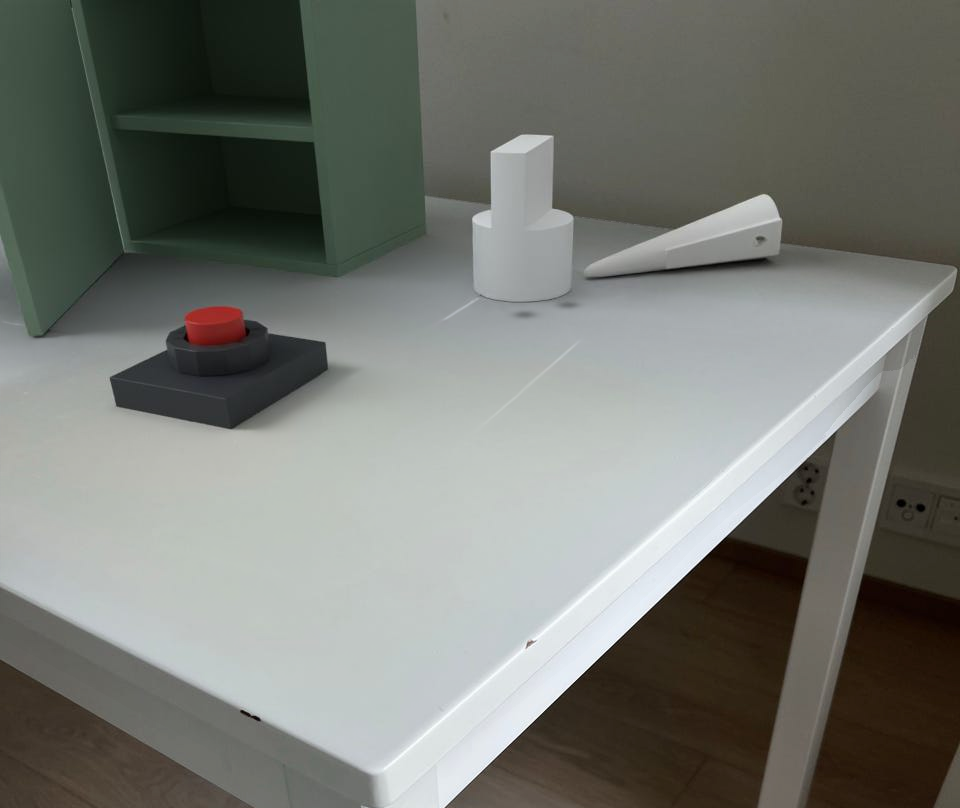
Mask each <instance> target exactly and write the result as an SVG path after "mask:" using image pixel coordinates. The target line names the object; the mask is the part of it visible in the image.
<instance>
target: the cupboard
mask: <svg viewBox="0 0 960 808" xmlns="http://www.w3.org/2000/svg"><path fill="white" fill-rule="evenodd" d="M70 3H71V8H72V12H73V17H74V22H75V26H76V31H77V35H78V40H79V45H80V49H81V54H82V59H83V63H84V68H85V72H86V77H87V82H88V86H89V91H90V96H91V100H92V105H93V109H94V114H95V119H96V123H97V128H98V133H99V137H100V142H101V146H102V151H103V156H104V160H105V165H106V170H107V174H108V179H109V184H110V188H111V193H112V197H113V202H114V207H115V211H116V216H117V221H118V225H119V230H120V234H121V239H122V244H123V248H124V252H132V253H139V254H146V255H147V254H148V255H155V256H164V257H173V258H179V259H187V260H195V261H204V262H211V263H220V264H228V265H236V266H243V267H252V268H259V269H268V270H275V271H284V272H290V273H291V272H292V273H300V274H307V275H315V276H324V277H331V278H332V277H333V278H340V277H342V276H345V275H346V274H348V273H350V272H352V271H354V270H357V269H358V268H360V267H362V266H364V265H366V264H369V263H370V262H372V261H375V260H377V259H378V258H381V257H382V256H385V255H387V254H388V253H391V252H393V251H395V250H397V249H399V248H401V247H403V246H405V245H407V244H409V243H411V242H413V241H416V240H418V239H419V238H420V237H423V236H425V235H427V217H426V215H427V214H426V196H425V194H426V193H425V192H426V191H425V174H424V173H425V172H424V170H425V169H424V150H423V130H422V129H423V128H422V108H421V85H420V67H419V66H420V65H419V64H420V63H419V62H420V61H419V44H418V41H419V40H418V22H417V21H418V19H417V0H70Z"/></svg>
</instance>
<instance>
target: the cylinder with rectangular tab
mask: <svg viewBox="0 0 960 808" xmlns="http://www.w3.org/2000/svg"><path fill="white" fill-rule="evenodd" d="M554 138H555V135H550V134H549V135H548V134H520V135H518V136H516V137H514V138H513V139H511V140H509V141H507V142H505V143H504V144H502V145H500V146H498V147H496V148H494V149H493V150H491V151H490V209H488V210H484V211H480V212H478V213H476V214H474V215H473V217H472V218H471V224H472V225H471V227H472V228H471V229H472V271H473V273H472V274H473V289H474V291H475V292H476V293H477V294H479V295H480V296H482V297H484V298H487V299H491V300H495V301H502V302H514V303H527V302H528V303H529V302H539V301H540V302H541V301H548V300H552V299H557V298H559V297H562V296H564V295H566V294H567V293H569V292H570V291H571V289H572V277H573V275H572V274H573V249H574V248H573V247H574V246H573V245H574V219H575V218H574V216H573V214H571V213H569V212H567V211H564V210H561V209H556V208H553V187H554V186H553V185H554V147H555V145H554V144H555V143H554V142H555V139H554Z"/></svg>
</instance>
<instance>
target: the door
mask: <svg viewBox="0 0 960 808" xmlns="http://www.w3.org/2000/svg"><path fill="white" fill-rule="evenodd" d="M0 240H1V243H2V247H3V251H4V254H5V258H6V261H7V264H8V268H9V272H10V275H11V278H12V282H13V286H14V291H15V293H16V297H17V300H18V303H19V308H20V311H21V315H22V317H23V321H24V325H25V328H26V332H27V335H28V336H29V337H34V336H40V337H41V336H43V335H44V334H45V333H47V332H48V330H49V329H51V327H52V326H53V325H54V324H55V323H56V322H57V321H58V320H59V319H60V318H61V317H62V316H63V315H64V314H65V313H66V312H67V311H68V310H69V309H70V308H71V307H72V306H73V305H74V304H75V303H76V302H77V301H78V300H79V299H80V298H81V297H82V296H83V294H85V293H86V292H87V291H88V289H89V288H90V287H91V286H93V284H95V282H96V281H98V279H99V278H100V277H101V276H102V275H103V274H105V273H106V271H107V270H108V269H109V268H110V267H112V265H113V264H114V263H115V262H116V261H117V260H118V259H119V258H120V257H121V256H122V255H123V254H124V253H125V249H124V245H123V239H122V235H121V231H120V226H119V221H118V217H117V212H116V207H115V203H114V198H113V193H112V189H111V184H110V180H109V175H108V170H107V166H106V161H105V156H104V152H103V147H102V142H101V138H100V133H99V129H98V124H97V119H96V115H95V110H94V105H93V101H92V96H91V91H90V87H89V82H88V78H87V73H86V68H85V64H84V59H83V54H82V50H81V45H80V40H79V36H78V31H77V26H76V22H75V17H74V13H73V8H72V3H71V0H0Z"/></svg>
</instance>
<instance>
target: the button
mask: <svg viewBox="0 0 960 808" xmlns="http://www.w3.org/2000/svg"><path fill="white" fill-rule="evenodd" d="M244 320H245V317H244V313H243V311H242V310H241V309H239V308H237V307H233V306H224V305H218V306H217V305H215V306H207V307H201V308H198V309H195V310H191V311H190V312H188V313H186V315H184V324H185V325H186V329H187V334H188V339H189V343H191V344H197V345H222V344H226V343H231V342H236V341H239V340H241V339H243V338H245V337H246V330H245V324H244Z"/></svg>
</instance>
